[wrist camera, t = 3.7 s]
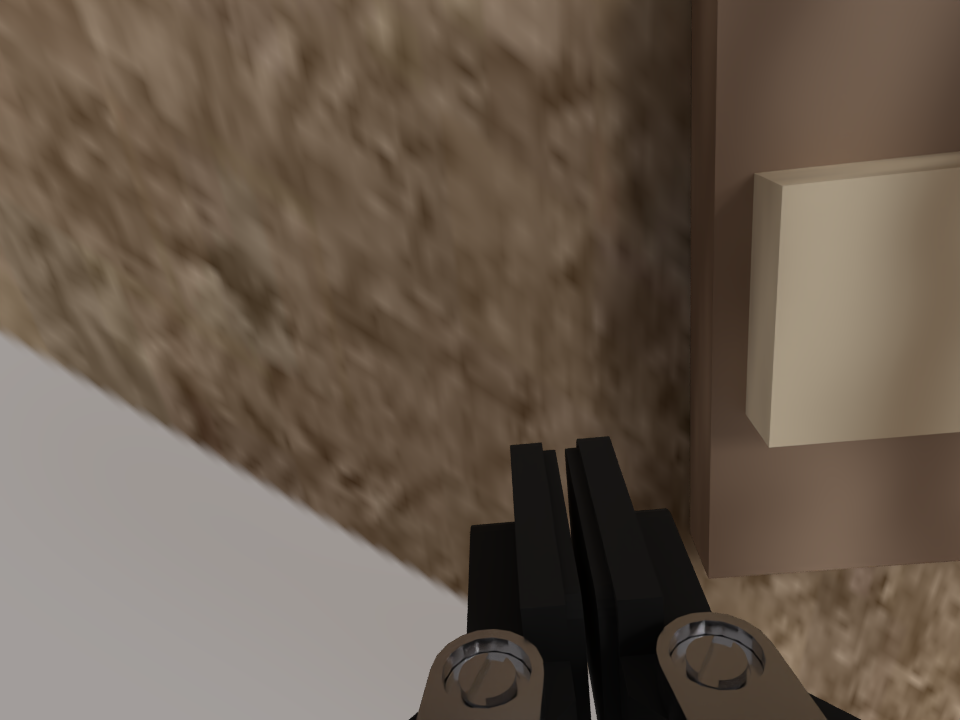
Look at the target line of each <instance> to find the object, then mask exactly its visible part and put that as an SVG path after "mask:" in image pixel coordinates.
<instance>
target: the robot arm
mask: <svg viewBox="0 0 960 720" xmlns="http://www.w3.org/2000/svg"><path fill="white" fill-rule="evenodd" d="M510 453H511V469H512V485H513V501H514V517H515V522H505V523H493V524H482V525H472V526H471V531H470V557H469V585H468V614H467V634H465V635H462V636H460V637H459V638H457V639H455V640H454V641H452V642H450V643H449V644H447V645H446V646H445V648H444V649H443V650H442V651H441V652H440V653H439V654H438V655H437V656H436V659H435V661H434V663H433V665H432V667H431V669H430V672H429V677H428V680H427V683H426V687H425V690H424V694H423V697H422V701H421V704H420V708H419V712H417V713H416V714H415V715H414V716H413V717H412V718H410V719H409V720H591V711H590V697H589V683H588V668H589V674H590V680H591V686H592V692H593V698H594V703H595V709H596V714H597V720H861V719H859V718H857V717H855V716H853V715H851V714H849V713H847V712H845V711H843V710H841V709H839V708H837V707H835V706H833V705H831V704H829V703H827V702H825V701H823V700H821V699H819V698H817V697H815V696H814V695H812V694H810V693H808V692H807V691H806V689H805V688H804V686H803V685H802V684H801V682H800V681H799V679H798V678H797V677H796V675H795V674H794V672H793V671H792V670H791V668H790V667H789V665H788V664H787V663H786V661H785V660H784V658H783V657H782V656H781V654H780V653H779V651H778V650H777V649H776V647H775V646H774V644H773V643H772V642H771V641H770V640H769V639H768V638H767V637H766V636H765V635H764V634H763V632H762V631H761V630H759V629H758V628H756V627H754V626H753V625H751V624H750V623H748V622H746V621H745V620H742V619H739V618H736V617H733V616H731V615H728V614H721V613H714V612H711V610H710V607H709V605H708V602H707V600H706V597H705V595H704V593H703V590H702V588H701V585H700V583H699V581H698V578H697V576H696V573H695V571H694V569H693V566H692V564H691V561H690V559H689V556H688V554H687V552H686V549H685V547H684V544H683V542H682V540H681V537H680V535H679V532H678V530H677V528H676V525H675V523H674V520H673V518H672V516H671V514H670V512H669V510H668V509H666V508H665V509H654V510H642V511H634V508H633V505H632V502H631V499H630V496H629V493H628V490H627V487H626V484H625V481H624V478H623V475H622V472H621V469H620V467H619V464H618V461H617V458H616V455H615V452H614V449H613V446H612V443H611V440H610V437H609V436H606V437H595V438H585V439H577V441H576V448H568V449H565V461H566V474H567V487H568V501H569V514H570V528H571V535H570V529H569V524H568V518H567V513H566V507H565V502H564V496H563V490H562V485H561V479H560V474H559V468H558V463H557V457H556V452H555V450H546V451H543V448H542V443H530V444H520V445H510ZM587 662H588V668H587Z"/></svg>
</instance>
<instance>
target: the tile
mask: <svg viewBox="0 0 960 720" xmlns="http://www.w3.org/2000/svg"><path fill="white" fill-rule="evenodd" d="M745 414H746V415H747V417H748V418H749V420H750V421H751V422H752V424H753V425H754V427H755V428H756V430H757V431H758V433H759V434H760V435H761V437H762V438H763V440H764V441H765V443H766V444H767V445H768V447H769V448H771V447H783V446H795V445H807V444H819V443H831V442H843V441H855V440H868V439H880V438H892V437H904V436H916V435H928V434H940V433H953V432H960V151H959V152H949V153H940V154H930V155H921V156H912V157H902V158H893V159H883V160H874V161H865V162H855V163H846V164H836V165H827V166H818V167H808V168H799V169H789V170H780V171H771V172H761V173H754V195H753V222H752V250H751V277H750V304H749V331H748V359H747V386H746V413H745Z"/></svg>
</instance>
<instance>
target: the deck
mask: <svg viewBox="0 0 960 720" xmlns="http://www.w3.org/2000/svg"><path fill="white" fill-rule="evenodd" d="M959 151H960V0H692V57H691V344H690V534H691V536H692V539H693V541H694V544H695V546H696V549H697V551H698V554H699V556H700V559H701V561H702V564H703V566H704V568H705V571H706V573H707V576H708V578H709V579H710V578H724V577H738V576H752V575H766V574H780V573H794V572H808V571H822V570H836V569H850V568H864V567H878V566H892V565H906V564H920V563H934V562H948V561H960V432H953V433H940V434H928V435H916V436H904V437H892V438H880V439H868V440H855V441H843V442H831V443H819V444H807V445H795V446H783V447H771V448H769V447H768V445H767V444H766V443H765V441H764V440H763V438H762V437H761V435H760V434H759V433H758V431H757V430H756V428H755V427H754V425H753V424H752V422H751V421H750V420H749V418H748V417H747V415H746V414H745V413H746V386H747V359H748V331H749V304H750V277H751V250H752V222H753V195H754V173H761V172H771V171H780V170H789V169H799V168H808V167H818V166H827V165H836V164H846V163H855V162H865V161H874V160H883V159H893V158H902V157H912V156H921V155H930V154H940V153H949V152H959Z"/></svg>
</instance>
